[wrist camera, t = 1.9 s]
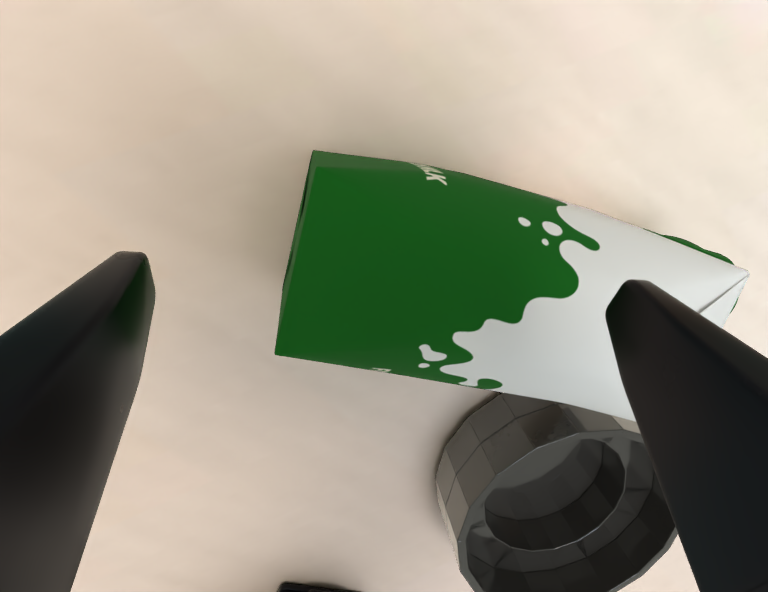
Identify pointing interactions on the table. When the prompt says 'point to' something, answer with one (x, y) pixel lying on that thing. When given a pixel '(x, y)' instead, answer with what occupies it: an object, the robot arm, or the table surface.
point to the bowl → (551, 499)
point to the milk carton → (474, 281)
